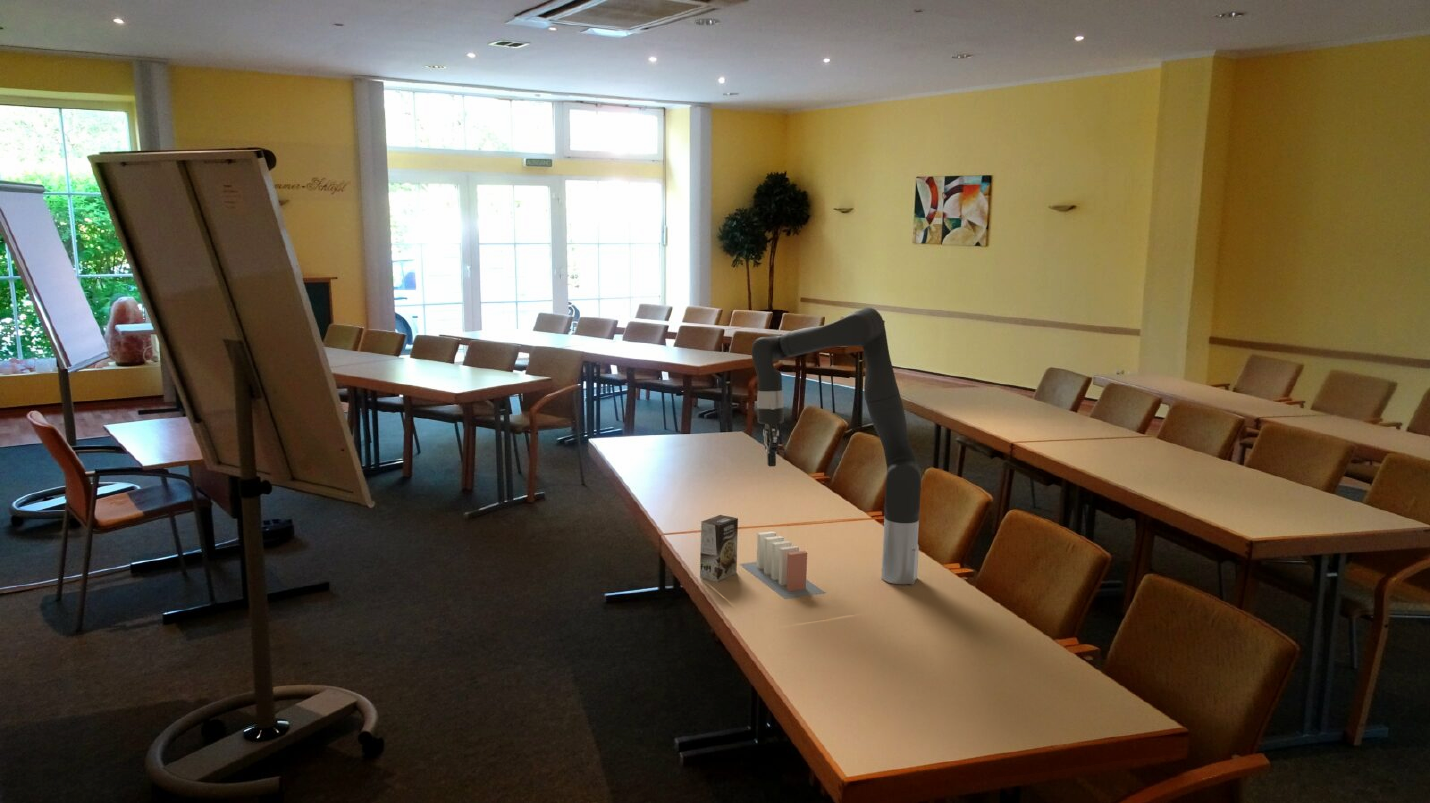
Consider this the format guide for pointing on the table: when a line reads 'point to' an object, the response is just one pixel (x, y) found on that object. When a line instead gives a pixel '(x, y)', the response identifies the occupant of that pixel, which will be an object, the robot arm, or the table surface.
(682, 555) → the table surface
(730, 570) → the coffee box
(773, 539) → the domino
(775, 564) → the domino
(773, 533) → the domino
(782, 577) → the domino
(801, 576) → the domino
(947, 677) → the table surface
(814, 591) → the mat
